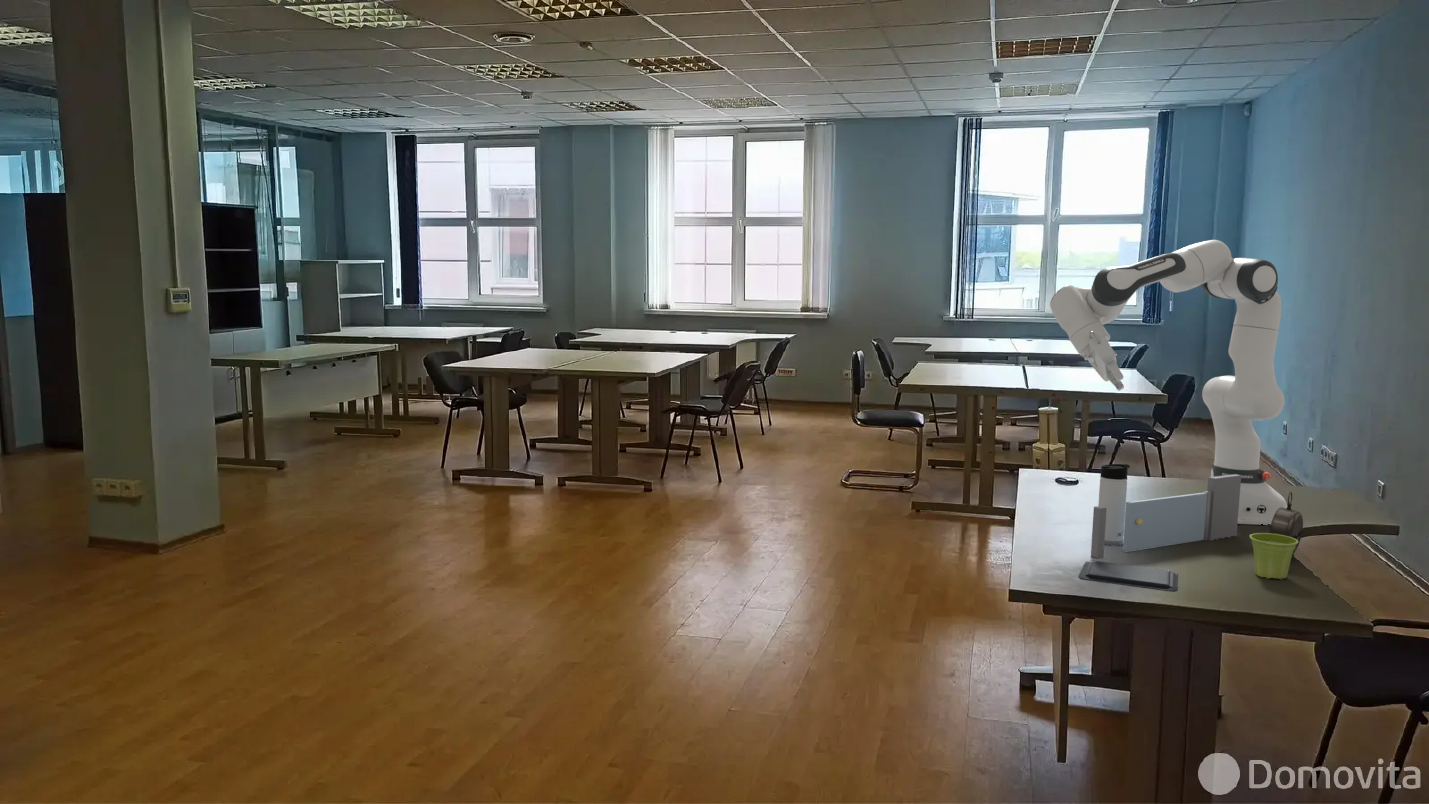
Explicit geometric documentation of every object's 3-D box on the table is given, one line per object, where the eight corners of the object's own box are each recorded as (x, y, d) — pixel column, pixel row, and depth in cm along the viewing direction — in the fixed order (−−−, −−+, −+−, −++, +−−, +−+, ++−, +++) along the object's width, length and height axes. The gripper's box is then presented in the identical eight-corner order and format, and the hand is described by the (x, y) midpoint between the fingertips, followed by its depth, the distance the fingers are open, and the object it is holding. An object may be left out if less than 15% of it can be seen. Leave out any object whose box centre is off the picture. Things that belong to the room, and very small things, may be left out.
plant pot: (1275, 584, 213) (1278, 545, 212) (1237, 572, 221) (1240, 535, 220) (1304, 579, 216) (1308, 541, 215) (1265, 567, 225) (1269, 531, 224)
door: (1203, 538, 249) (1206, 491, 248) (1212, 541, 247) (1215, 493, 246) (1121, 551, 237) (1125, 501, 235) (1130, 553, 235) (1133, 503, 233)
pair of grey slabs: (1230, 534, 254) (1234, 474, 252) (1237, 536, 252) (1242, 475, 250) (1090, 556, 233) (1094, 490, 231) (1097, 558, 231) (1101, 491, 229)
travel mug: (1126, 546, 241) (1132, 467, 239) (1098, 544, 243) (1103, 465, 240) (1121, 540, 248) (1126, 462, 245) (1094, 538, 249) (1099, 461, 246)
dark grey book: (1077, 573, 215) (1086, 555, 228) (1076, 581, 215) (1085, 563, 229) (1177, 587, 206) (1180, 568, 219) (1176, 596, 206) (1179, 576, 220)
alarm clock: (1279, 551, 238) (1284, 486, 236) (1304, 556, 235) (1310, 490, 233) (1264, 560, 231) (1270, 493, 229) (1290, 565, 227) (1296, 497, 225)
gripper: (1101, 321, 245) (1132, 366, 240) (1103, 345, 263) (1132, 388, 258) (1078, 334, 247) (1108, 379, 241) (1082, 357, 265) (1110, 400, 259)
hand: (1121, 384), depth 250 cm, fingers open, 8 cm apart
